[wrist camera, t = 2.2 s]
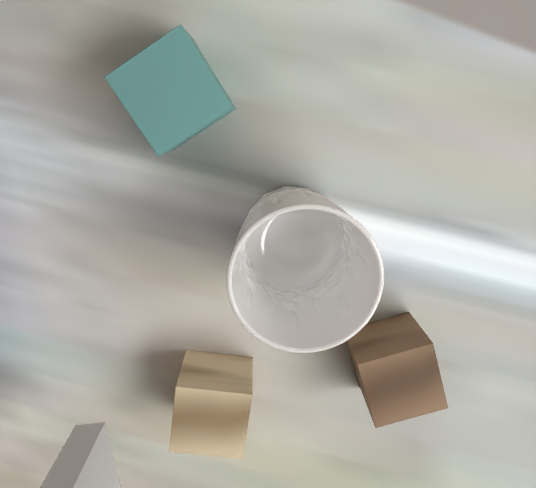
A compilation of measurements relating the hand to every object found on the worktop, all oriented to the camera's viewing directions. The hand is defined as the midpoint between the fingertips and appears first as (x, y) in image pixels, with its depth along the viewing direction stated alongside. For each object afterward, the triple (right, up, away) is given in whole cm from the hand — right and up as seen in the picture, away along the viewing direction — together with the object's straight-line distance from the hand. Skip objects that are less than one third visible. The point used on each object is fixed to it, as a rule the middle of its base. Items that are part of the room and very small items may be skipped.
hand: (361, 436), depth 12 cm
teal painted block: (-8, +15, +18) cm, 25 cm away
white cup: (-1, +6, +21) cm, 22 cm away
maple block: (-6, -6, +24) cm, 26 cm away
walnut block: (+6, -3, +24) cm, 25 cm away
